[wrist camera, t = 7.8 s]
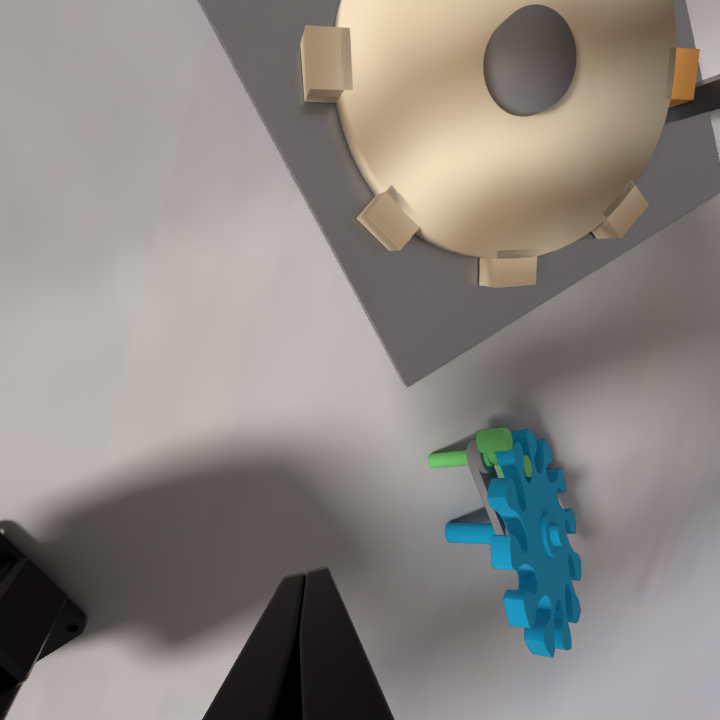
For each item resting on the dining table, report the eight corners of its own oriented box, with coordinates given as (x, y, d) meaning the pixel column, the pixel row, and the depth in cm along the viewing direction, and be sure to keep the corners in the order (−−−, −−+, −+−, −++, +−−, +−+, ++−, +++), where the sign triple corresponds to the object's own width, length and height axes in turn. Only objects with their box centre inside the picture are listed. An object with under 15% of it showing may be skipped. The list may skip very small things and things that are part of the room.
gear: (600, 548, 26) (582, 721, 18) (501, 545, 29) (450, 689, 22) (540, 376, 24) (490, 486, 16) (442, 395, 27) (362, 493, 20)
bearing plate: (404, 384, 22) (442, 416, 18) (156, -77, 16) (125, -198, 11) (715, 190, 24) (816, 177, 20) (610, -290, 18) (727, -462, 13)
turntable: (692, 187, 23) (954, 149, 15) (410, 340, 21) (523, 400, 13) (614, -229, 18) (958, -673, 9) (226, -76, 16) (207, -459, 7)
